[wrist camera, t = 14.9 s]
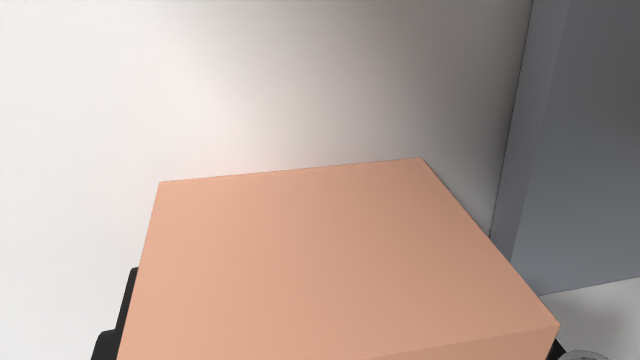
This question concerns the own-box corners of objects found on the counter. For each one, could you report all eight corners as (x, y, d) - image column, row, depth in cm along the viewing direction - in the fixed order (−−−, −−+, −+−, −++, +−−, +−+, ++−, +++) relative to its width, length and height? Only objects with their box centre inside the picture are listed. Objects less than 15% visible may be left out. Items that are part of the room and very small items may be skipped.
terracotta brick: (159, 182, 9) (106, 404, 5) (421, 157, 10) (560, 325, 6) (199, 357, 12) (187, 584, 8) (396, 325, 13) (476, 512, 9)
